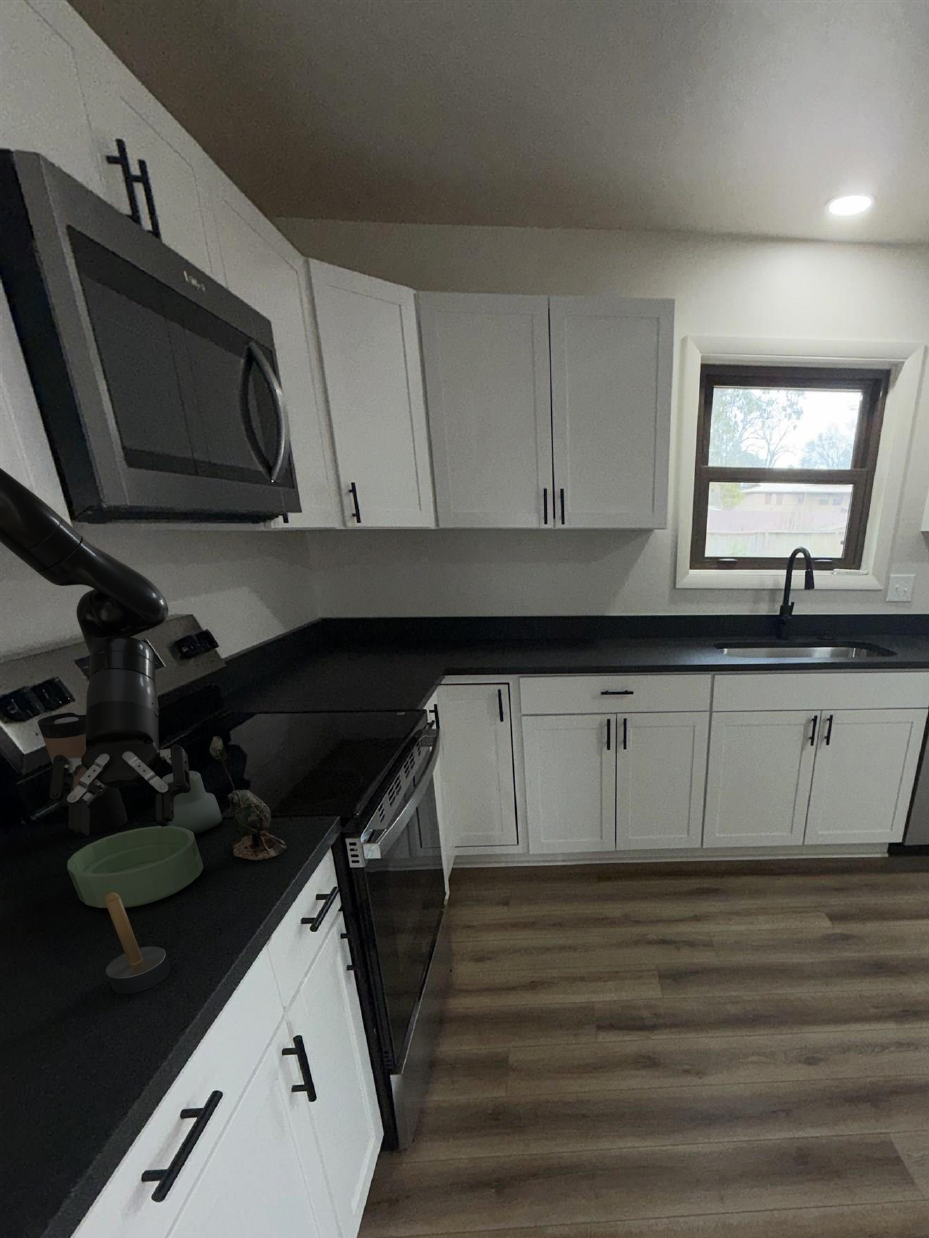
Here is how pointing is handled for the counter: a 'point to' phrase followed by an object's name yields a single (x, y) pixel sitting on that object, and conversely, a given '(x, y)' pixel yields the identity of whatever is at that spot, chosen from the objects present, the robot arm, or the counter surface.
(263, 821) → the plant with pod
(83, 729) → the travel mug
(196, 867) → the bowl
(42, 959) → the counter surface
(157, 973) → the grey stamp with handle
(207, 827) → the air freshener
